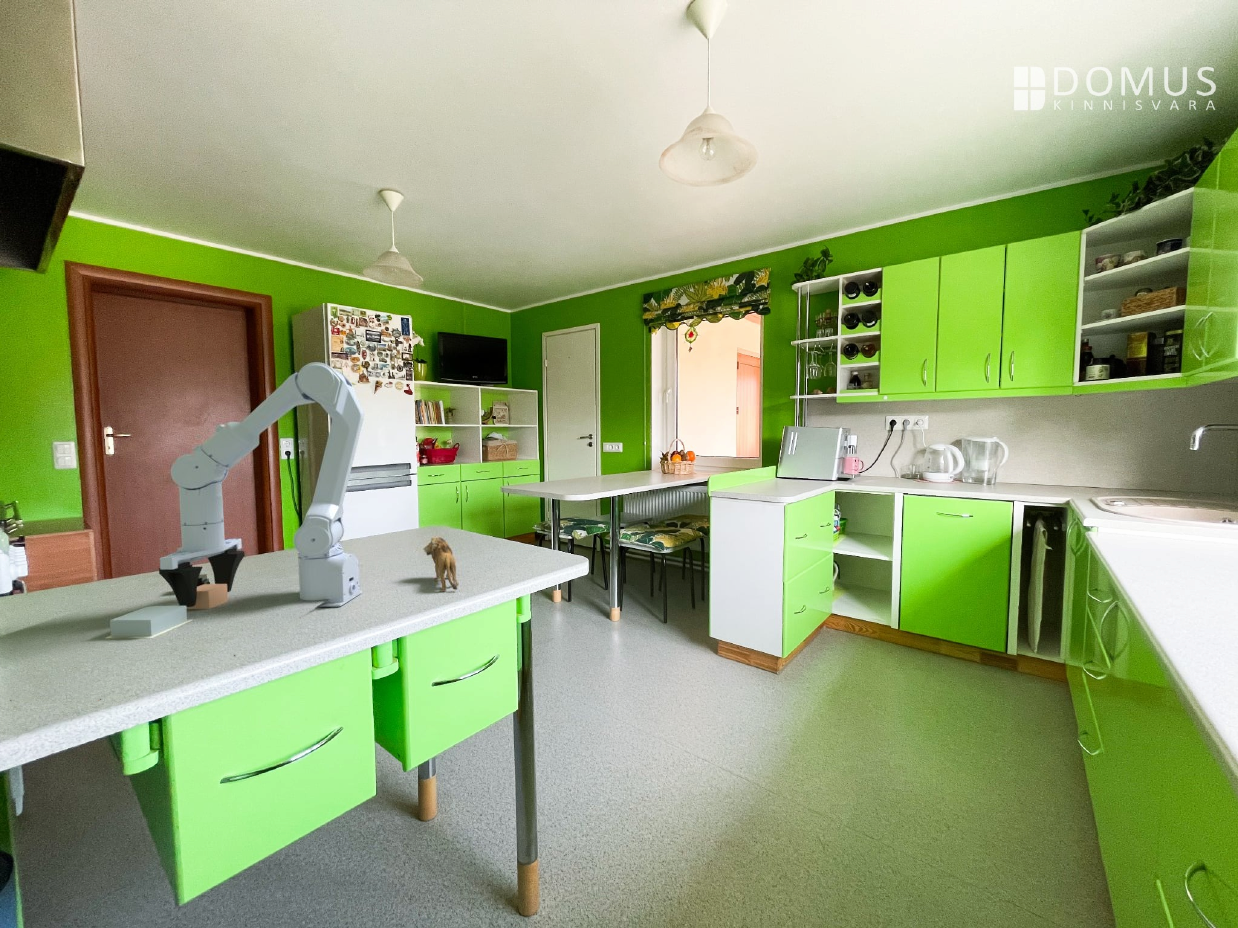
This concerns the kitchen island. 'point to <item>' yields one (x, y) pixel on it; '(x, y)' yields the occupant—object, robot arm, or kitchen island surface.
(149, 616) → the base block
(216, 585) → the top block
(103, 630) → the kitchen island surface
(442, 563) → the lion figurine
